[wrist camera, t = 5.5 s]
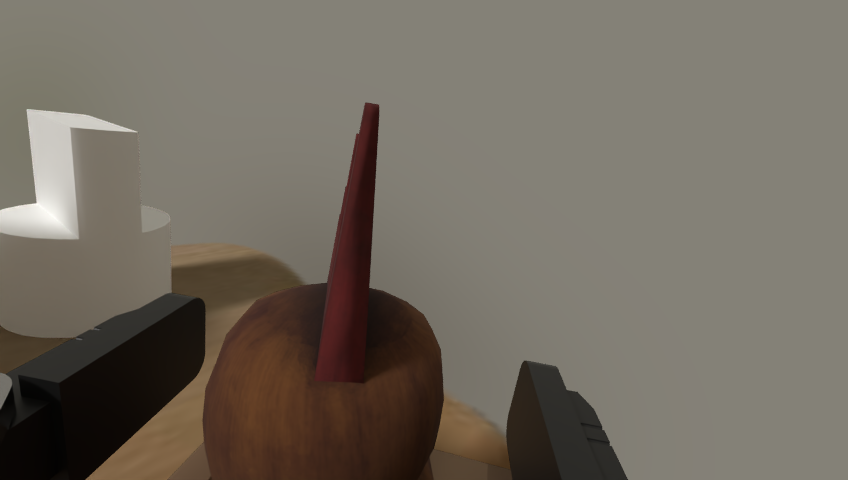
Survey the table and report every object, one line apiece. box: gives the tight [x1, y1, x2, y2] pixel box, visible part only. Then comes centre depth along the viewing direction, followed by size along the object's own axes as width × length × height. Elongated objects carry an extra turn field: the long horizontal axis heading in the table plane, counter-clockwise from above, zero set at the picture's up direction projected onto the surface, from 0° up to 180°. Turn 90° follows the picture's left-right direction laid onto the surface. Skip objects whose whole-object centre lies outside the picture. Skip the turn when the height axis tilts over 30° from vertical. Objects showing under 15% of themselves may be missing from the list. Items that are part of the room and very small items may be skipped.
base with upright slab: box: [0, 109, 172, 338], centre depth 25 cm, size 9×9×12 cm
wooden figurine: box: [203, 103, 444, 480], centre depth 9 cm, size 7×6×15 cm
